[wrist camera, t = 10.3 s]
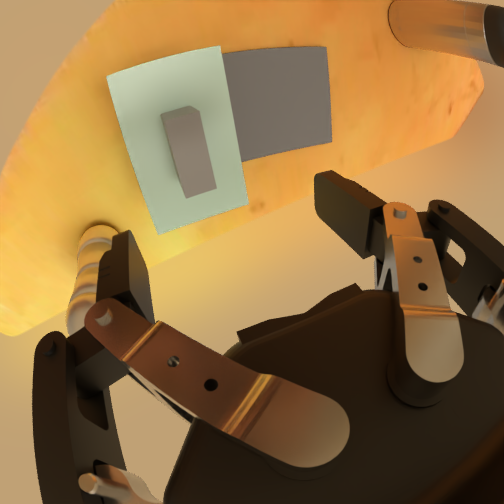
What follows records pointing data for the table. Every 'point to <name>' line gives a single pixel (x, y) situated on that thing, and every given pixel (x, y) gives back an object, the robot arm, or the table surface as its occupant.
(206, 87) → the lid
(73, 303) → the plastic bottle
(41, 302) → the table surface
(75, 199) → the table surface
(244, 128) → the rubber mat
